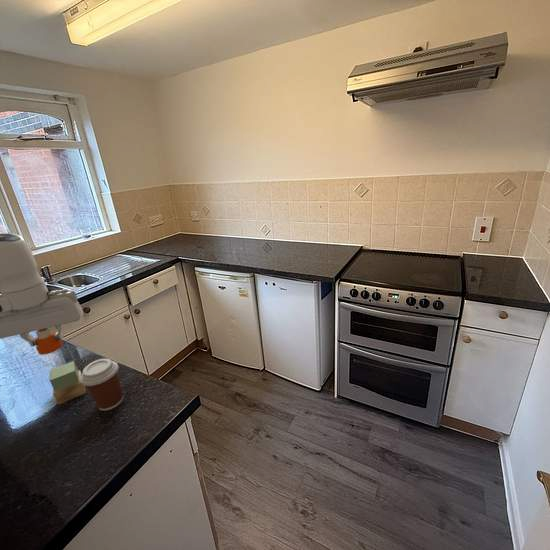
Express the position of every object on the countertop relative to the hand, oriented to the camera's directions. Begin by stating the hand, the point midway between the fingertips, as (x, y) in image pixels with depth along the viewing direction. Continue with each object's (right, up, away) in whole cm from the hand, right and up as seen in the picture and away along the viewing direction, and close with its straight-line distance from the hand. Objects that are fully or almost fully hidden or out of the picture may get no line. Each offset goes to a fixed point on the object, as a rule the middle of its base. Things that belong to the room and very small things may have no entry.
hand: (47, 342), depth 81 cm
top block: (+1, -13, +6) cm, 14 cm away
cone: (0, -2, +1) cm, 2 cm away
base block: (+2, -16, +7) cm, 18 cm away
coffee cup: (+16, -17, +2) cm, 24 cm away
